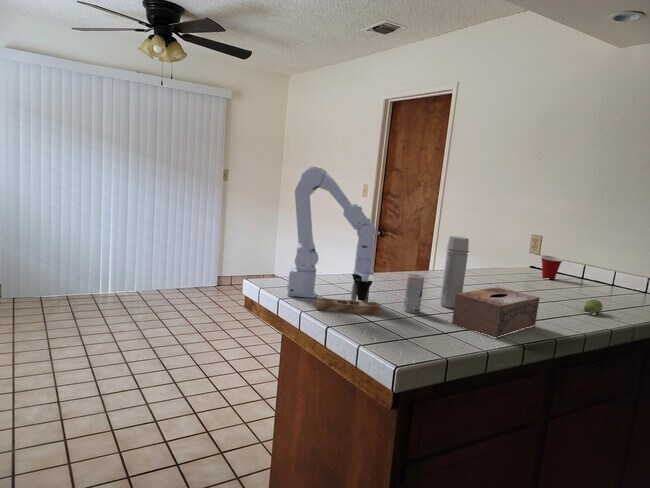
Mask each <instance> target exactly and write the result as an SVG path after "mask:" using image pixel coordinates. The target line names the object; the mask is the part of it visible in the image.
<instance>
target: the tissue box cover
mask: <svg viewBox="0 0 650 488" xmlns="http://www.w3.org/2000/svg"><path fill="white" fill-rule="evenodd" d="M540 299H541V298H540V297H539V296H536V295H535V296H534V295H531V294H527V293H523V292H519V291H514V290H511V289H506V288H503V287H498V286H496V287H490V288H482V289H477V290H471V291H464V292H462V293H456V298H455V305H454V309H453V314H452V319H451V321H452V322H451V325H453V324H455V325H454V326H456V325H457V326H456V327H459V326H460V328H462V327H464V328H463V329H465V328H467V329H466V330H468V329H470V330H469V331H471V330H473V331H477V332H480V333H484V334H487V335H490V336H493V337H498V336H501V335H504V334H507V333H510V332H513V331H516V330H519V329H522V328H526V327H530V326H533V325H535V326H536V321H537V315H538V309H539V303H540ZM473 331H472V332H473Z"/></svg>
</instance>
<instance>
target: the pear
mask: <svg viewBox="0 0 650 488" xmlns="http://www.w3.org/2000/svg"><path fill="white" fill-rule="evenodd" d="M602 310H603V303H602V302H601V301H600V300H598V299H596V298H595V299H589V300H587V301H586V302H585V304H584V307H583V310H582V312H583V311H585V312H590V313H596V314H598V313H597V312H599V313H601V312H602Z"/></svg>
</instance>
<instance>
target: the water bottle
mask: <svg viewBox="0 0 650 488" xmlns="http://www.w3.org/2000/svg"><path fill="white" fill-rule="evenodd" d="M469 240H470V239H469V238H468V237H465V236H455V235H450V236H449V237H448V242H447V247H446V249H445V251H446V256H445V263H444V271H443V279H442V285H441V292H440V301H439V304H440V305H441V306H442V307H444V308H447V309H453V308H454V305H455V298H456V293H463V291H464V285H465V276H466V270H467V263H468V256H469V252H470V250H469V245H470V243H469V242H470V241H469Z"/></svg>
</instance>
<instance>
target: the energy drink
mask: <svg viewBox="0 0 650 488" xmlns="http://www.w3.org/2000/svg"><path fill="white" fill-rule="evenodd" d="M424 283H425V278H424V276H423V275H421V274H415V273H414V274H413V273H411V274H408V276H407V280H406V287H405V293H404V301H403V302H404V303H403V311H405V312H406V313H409V314H418V313H420V312H421V304H422V296H423V289H424Z"/></svg>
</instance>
